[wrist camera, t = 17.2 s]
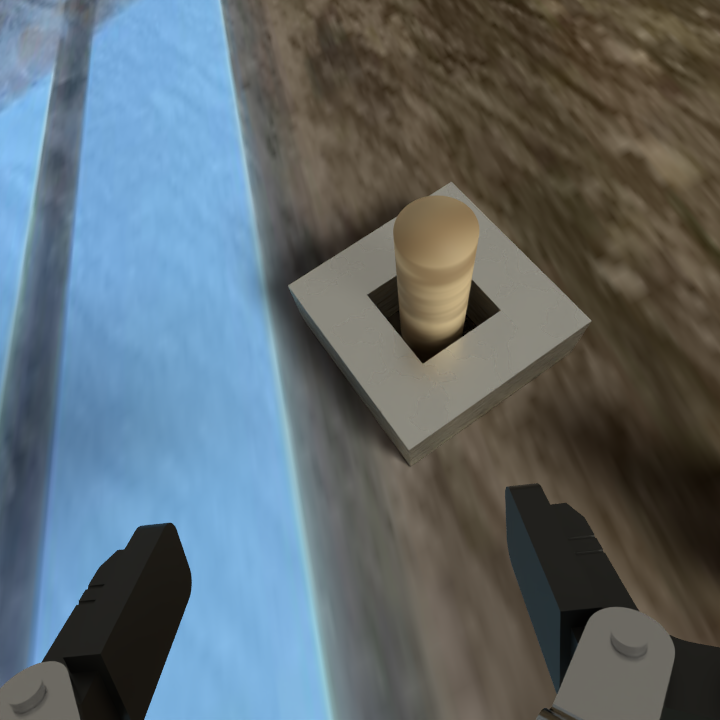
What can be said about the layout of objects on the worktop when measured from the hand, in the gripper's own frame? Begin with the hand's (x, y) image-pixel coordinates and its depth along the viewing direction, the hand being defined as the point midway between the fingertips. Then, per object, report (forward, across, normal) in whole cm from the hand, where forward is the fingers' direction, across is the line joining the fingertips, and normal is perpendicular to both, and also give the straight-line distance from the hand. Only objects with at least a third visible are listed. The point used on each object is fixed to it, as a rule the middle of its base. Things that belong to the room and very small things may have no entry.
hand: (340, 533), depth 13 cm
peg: (+27, -5, +6) cm, 28 cm away
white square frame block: (+27, -5, +6) cm, 28 cm away
